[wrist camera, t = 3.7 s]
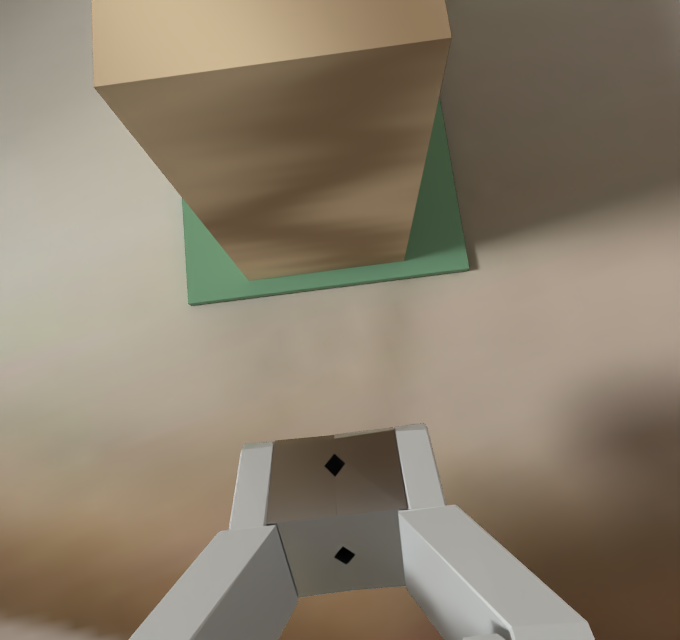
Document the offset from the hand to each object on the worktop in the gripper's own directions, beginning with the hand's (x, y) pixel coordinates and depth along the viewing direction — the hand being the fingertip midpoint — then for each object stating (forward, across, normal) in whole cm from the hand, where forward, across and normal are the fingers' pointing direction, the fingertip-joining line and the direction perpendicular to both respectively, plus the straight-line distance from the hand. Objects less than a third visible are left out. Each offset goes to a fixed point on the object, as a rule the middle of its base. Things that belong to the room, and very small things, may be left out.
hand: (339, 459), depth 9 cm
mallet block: (+12, 0, -2) cm, 13 cm away
